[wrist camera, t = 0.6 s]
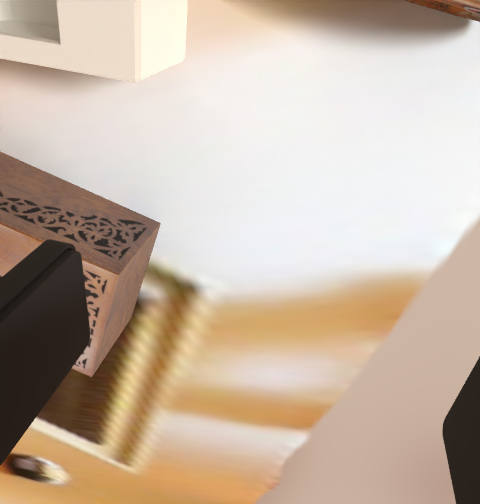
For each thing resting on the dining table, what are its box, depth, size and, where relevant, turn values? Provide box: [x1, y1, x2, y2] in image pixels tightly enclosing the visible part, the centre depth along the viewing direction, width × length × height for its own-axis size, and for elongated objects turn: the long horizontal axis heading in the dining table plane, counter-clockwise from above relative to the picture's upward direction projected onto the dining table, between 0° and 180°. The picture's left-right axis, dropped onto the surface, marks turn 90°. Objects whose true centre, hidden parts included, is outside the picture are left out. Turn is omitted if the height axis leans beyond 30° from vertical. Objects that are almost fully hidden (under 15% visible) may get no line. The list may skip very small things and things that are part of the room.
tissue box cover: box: [0, 152, 161, 377], centre depth 45 cm, size 26×14×10 cm, turn 69°
